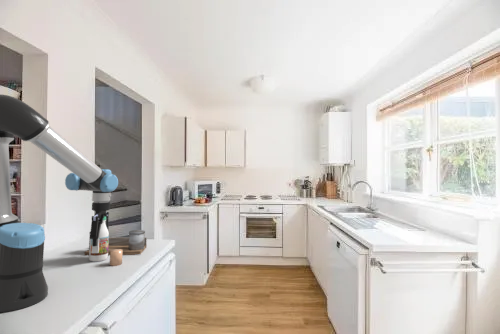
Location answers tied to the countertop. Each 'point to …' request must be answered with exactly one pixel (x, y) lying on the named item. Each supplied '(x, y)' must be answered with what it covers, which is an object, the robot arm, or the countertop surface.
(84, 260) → the countertop surface
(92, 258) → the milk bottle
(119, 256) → the peach rounded cylinder
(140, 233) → the rack
